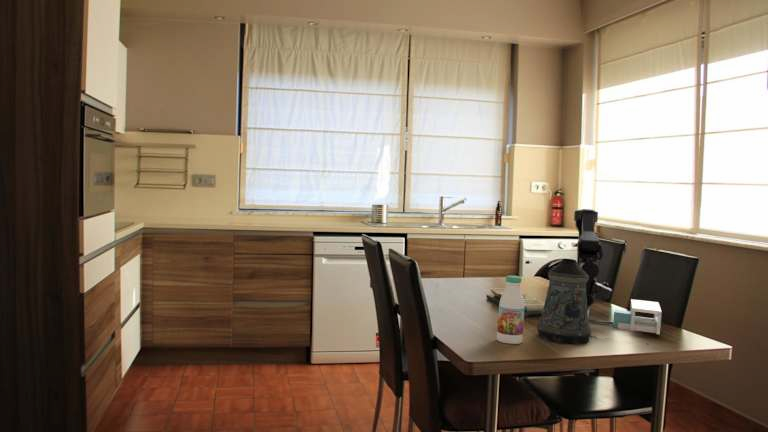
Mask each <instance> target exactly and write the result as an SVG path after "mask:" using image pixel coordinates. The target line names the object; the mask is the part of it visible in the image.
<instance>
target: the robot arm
mask: <svg viewBox="0 0 768 432" xmlns="http://www.w3.org/2000/svg"><path fill="white" fill-rule="evenodd" d="M598 217H599V212H598V211H596V210H595V209H591V208H590V209H589V208H582V209H580V208H579V209H577V210H574V212H573V222H574V226H575V229H576V231H577V232H578V238H577V244H576V245H577V246H576V255H577V256H576V262H577V264H578V265H579V266H580V267H581V268H582V269H583V270H584V271H585V272H586V273H587V275H588V276H589V279H588V282H587V283H586V297H587V311H588V308H589V309H590V306H592V305H593V304H595V296H596V294H597V295H599V296H601V297H603V298H605V299H607V300H608V299H609V297H610V295H611V293H612V291H613V290H612V288H610V287H609V283H607V282H605V281H604V282H603V283H599V282H597V279H596V278H597V276H598V275H599V273H600V268H599V266H598V264H597V261H601V260H602V258H603V256H604V255H603V246H602V243H601V242H600V240H599V238H600V237H599V236H598V235H597V234H595V227H596V223H597V222H599V221H598V219H599V218H598ZM597 224H598V223H597Z"/></svg>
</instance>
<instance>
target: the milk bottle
mask: <svg viewBox="0 0 768 432" xmlns="http://www.w3.org/2000/svg"><path fill="white" fill-rule="evenodd" d="M505 283H506V285H505V289H504V291H503V293H502V294H501V297H500V298H499V305H498V315H497V326H496V328H497V329H496V340H497V341H498V342H500V343H503V344H510V345H518V344H519V345H520V344H521V343H523V339H524V338H523V337H524V326H525V325H524V323H525V308H526V307H525V299H524V297H523V293H522V290H521V285H522V277H521V276H518V275H507V276H506V277H505Z"/></svg>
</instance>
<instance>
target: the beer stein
mask: <svg viewBox="0 0 768 432" xmlns="http://www.w3.org/2000/svg"><path fill="white" fill-rule="evenodd" d="M547 275H548V279H549V284H548V287H547V291H546V297H545V300H544V305H543V309H542V312H541V315H540V318H539V321H538V322H537V326H536V327H537V335H538V337H539V339H542V340H544V341H547V342H550V343H555V344H561V345H568V346H569V345H573V346H578V345H579V346H581V345H586V344H588V343H590V339H591V335H592V329H591V325H590V322H589V321H588V319H589V317H588V312H587V297H586V283H587V282H588V279H589V276H588V275H587V273H586V272H585V271H584V270H583V269H582V268H581V267H580V266H579V265H578V264H577V259H574V258H573V259H571V258H562V259H561V261H560V262H559V263H558V264H556V265H555V266H553V268H551V269H550V270H549V271H548V273H547Z"/></svg>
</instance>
